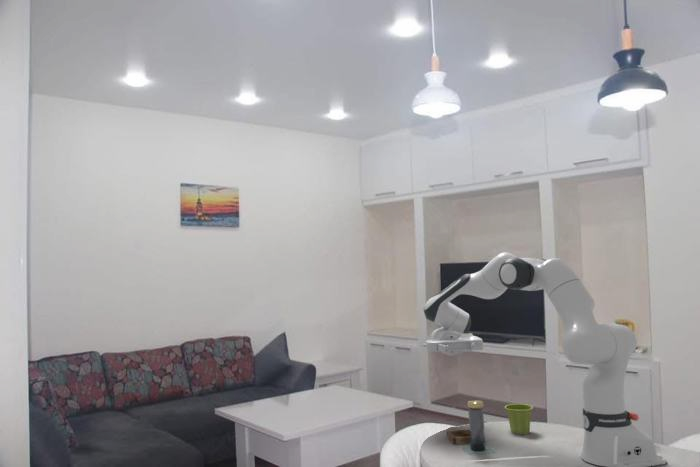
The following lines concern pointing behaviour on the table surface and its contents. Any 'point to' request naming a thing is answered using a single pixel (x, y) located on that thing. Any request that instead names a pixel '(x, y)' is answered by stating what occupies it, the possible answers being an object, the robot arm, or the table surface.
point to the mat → (486, 451)
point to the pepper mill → (476, 425)
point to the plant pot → (519, 417)
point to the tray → (459, 436)
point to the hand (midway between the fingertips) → (459, 347)
